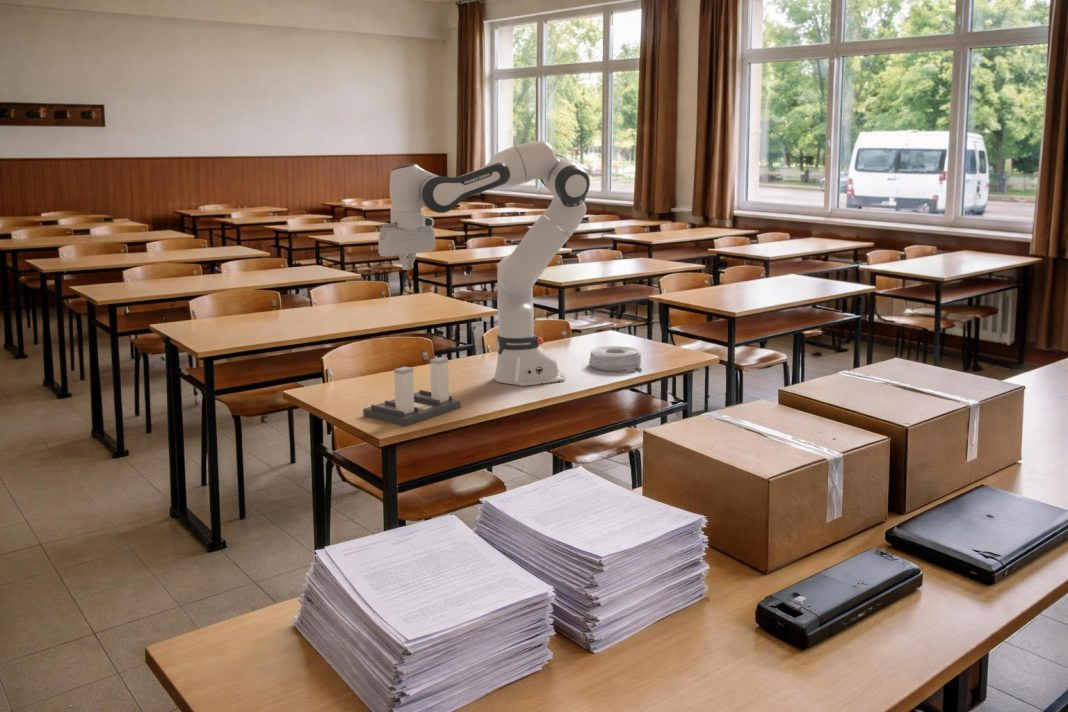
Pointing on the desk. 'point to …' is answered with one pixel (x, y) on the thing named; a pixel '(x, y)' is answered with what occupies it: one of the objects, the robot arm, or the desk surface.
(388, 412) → the fixture base
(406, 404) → the white rectangular block
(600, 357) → the cable
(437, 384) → the tall white block
